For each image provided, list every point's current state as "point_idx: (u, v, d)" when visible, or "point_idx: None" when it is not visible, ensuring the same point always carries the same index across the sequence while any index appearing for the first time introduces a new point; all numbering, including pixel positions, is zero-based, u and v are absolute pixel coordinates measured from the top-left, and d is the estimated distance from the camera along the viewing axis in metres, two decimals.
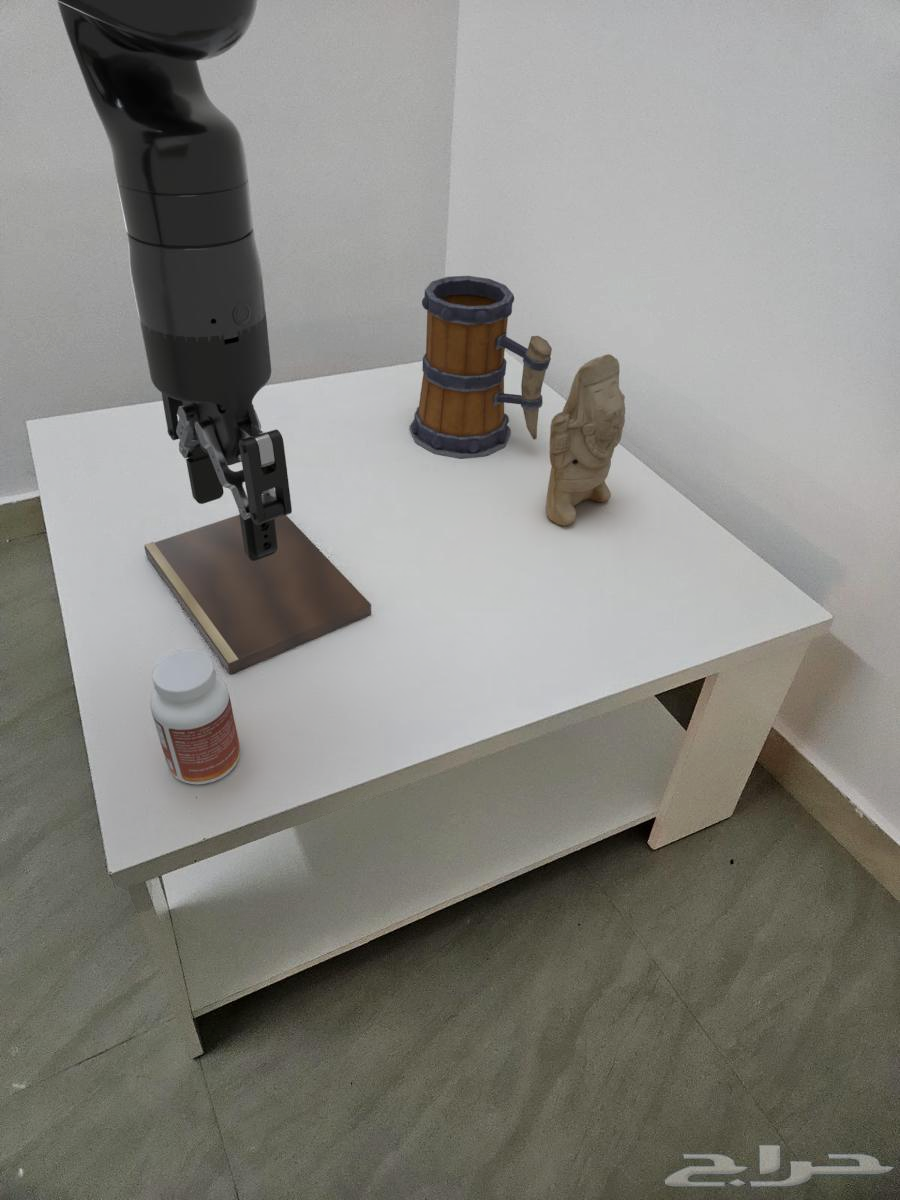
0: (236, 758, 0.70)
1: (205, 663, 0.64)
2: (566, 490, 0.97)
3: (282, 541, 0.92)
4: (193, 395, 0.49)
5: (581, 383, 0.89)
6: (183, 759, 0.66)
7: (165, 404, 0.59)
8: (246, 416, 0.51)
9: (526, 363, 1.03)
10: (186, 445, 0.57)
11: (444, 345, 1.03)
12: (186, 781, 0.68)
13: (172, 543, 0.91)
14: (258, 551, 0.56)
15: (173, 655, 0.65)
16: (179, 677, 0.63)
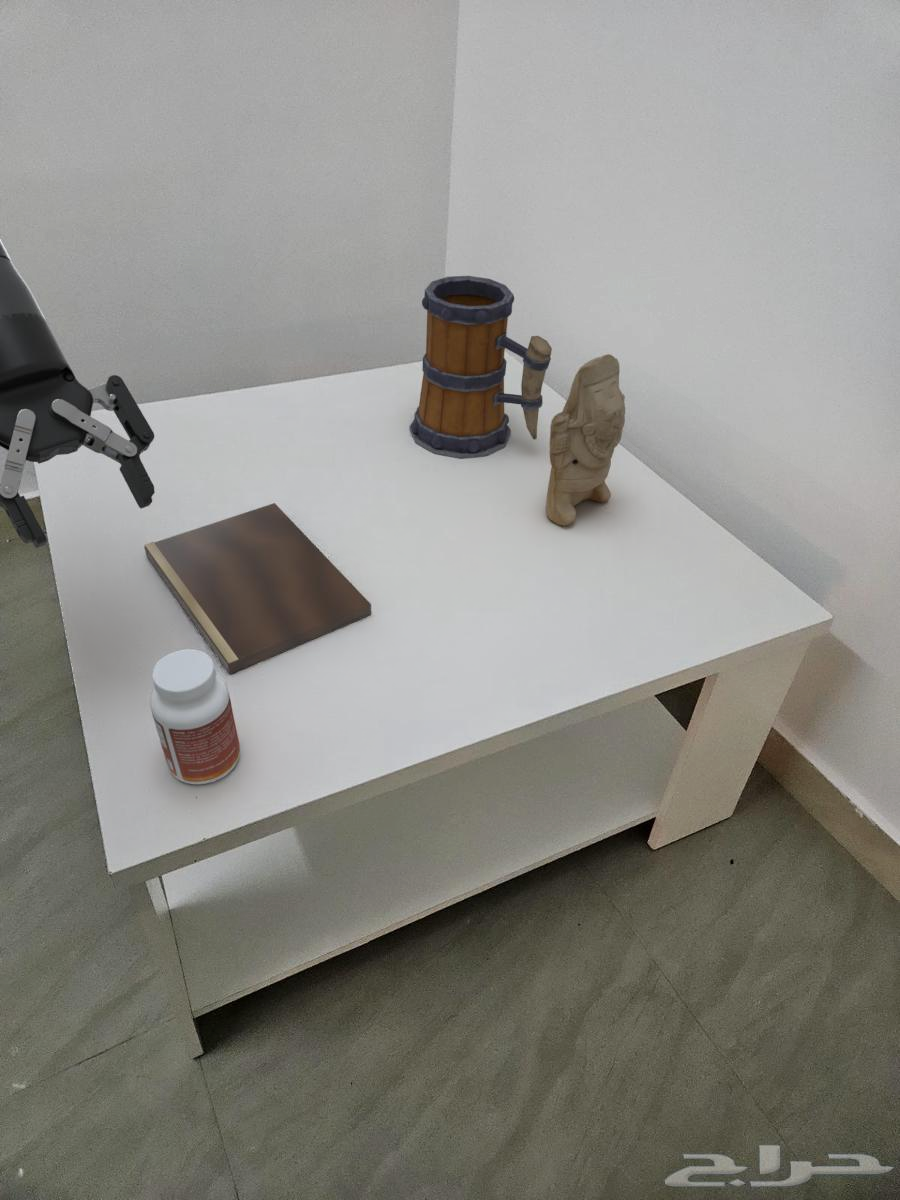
0: (236, 758, 0.70)
1: (205, 663, 0.64)
2: (566, 490, 0.97)
3: (282, 541, 0.92)
4: (60, 359, 0.63)
5: (581, 383, 0.89)
6: (183, 759, 0.66)
7: None
8: None
9: (526, 363, 1.03)
10: (24, 465, 0.61)
11: (444, 345, 1.03)
12: (186, 781, 0.68)
13: (172, 543, 0.91)
14: (152, 485, 0.67)
15: (173, 655, 0.65)
16: (179, 677, 0.63)
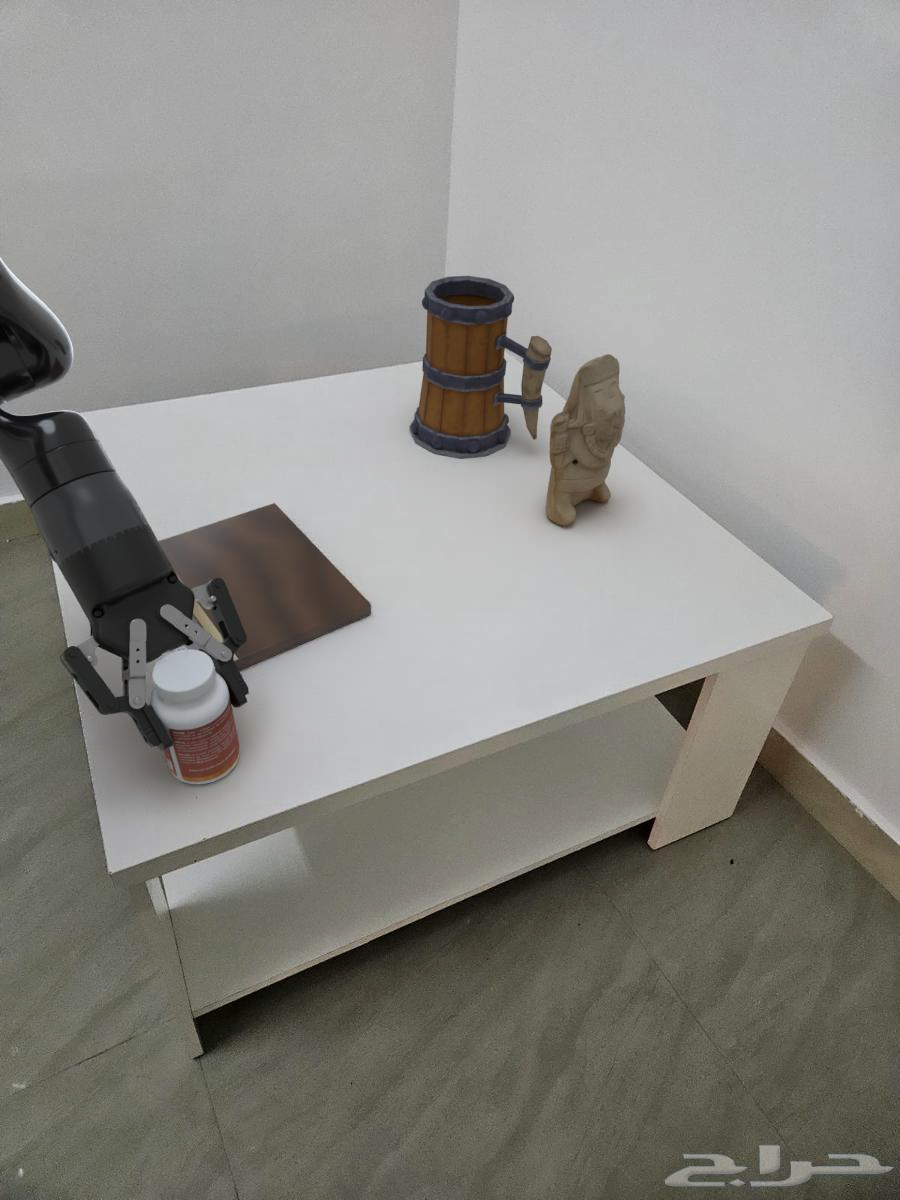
0: (236, 758, 0.70)
1: (205, 663, 0.64)
2: (566, 490, 0.97)
3: (282, 541, 0.92)
4: (166, 566, 0.65)
5: (581, 383, 0.89)
6: (183, 759, 0.66)
7: (92, 682, 0.61)
8: None
9: (526, 363, 1.03)
10: (145, 673, 0.63)
11: (444, 345, 1.03)
12: (186, 781, 0.68)
13: (172, 543, 0.91)
14: (246, 686, 0.68)
15: (173, 655, 0.65)
16: (179, 677, 0.63)
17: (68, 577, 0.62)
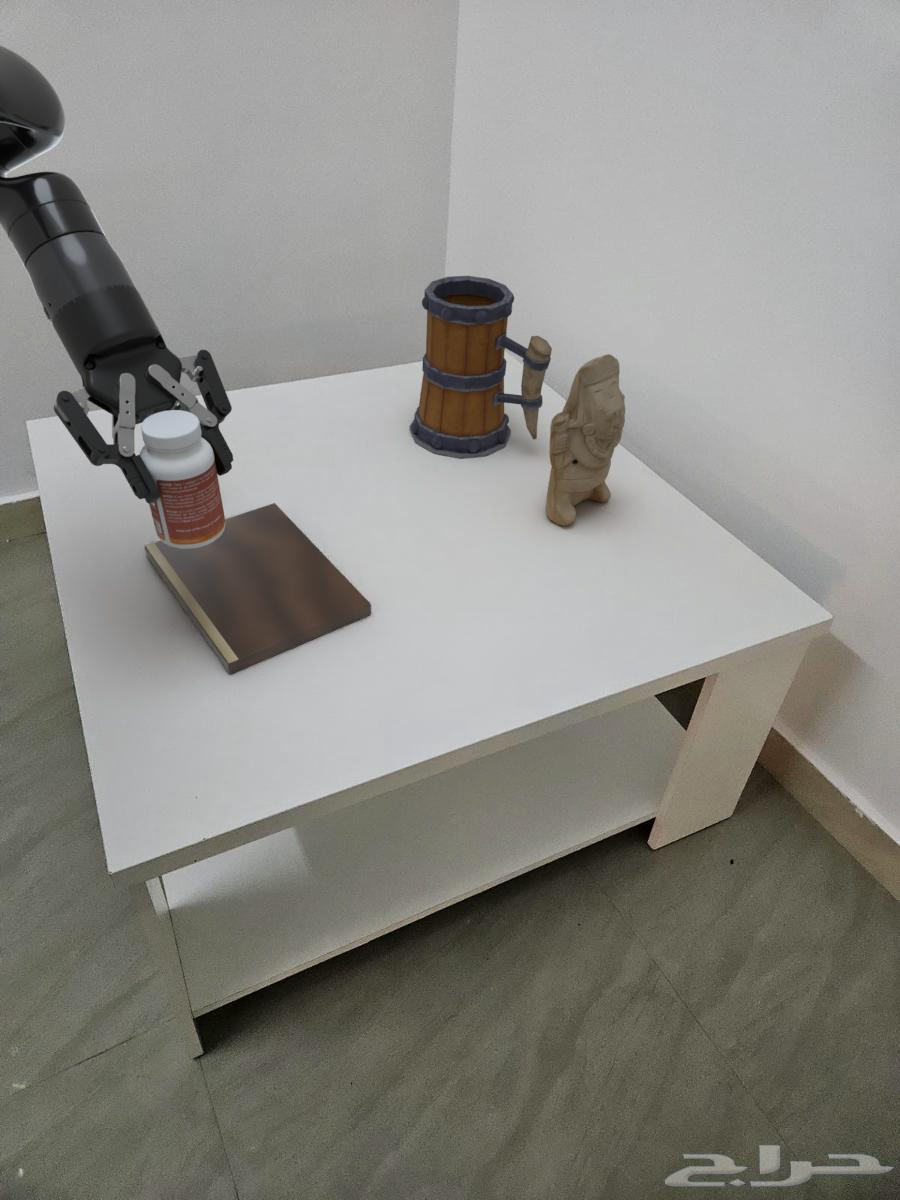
0: (221, 528, 0.74)
1: (191, 419, 0.68)
2: (566, 490, 0.97)
3: (282, 541, 0.92)
4: (155, 328, 0.68)
5: (581, 383, 0.89)
6: (171, 517, 0.70)
7: (83, 426, 0.65)
8: None
9: (526, 363, 1.03)
10: (134, 424, 0.67)
11: (444, 345, 1.03)
12: (174, 544, 0.72)
13: None
14: (231, 453, 0.72)
15: (161, 414, 0.68)
16: (166, 428, 0.67)
17: (61, 330, 0.66)
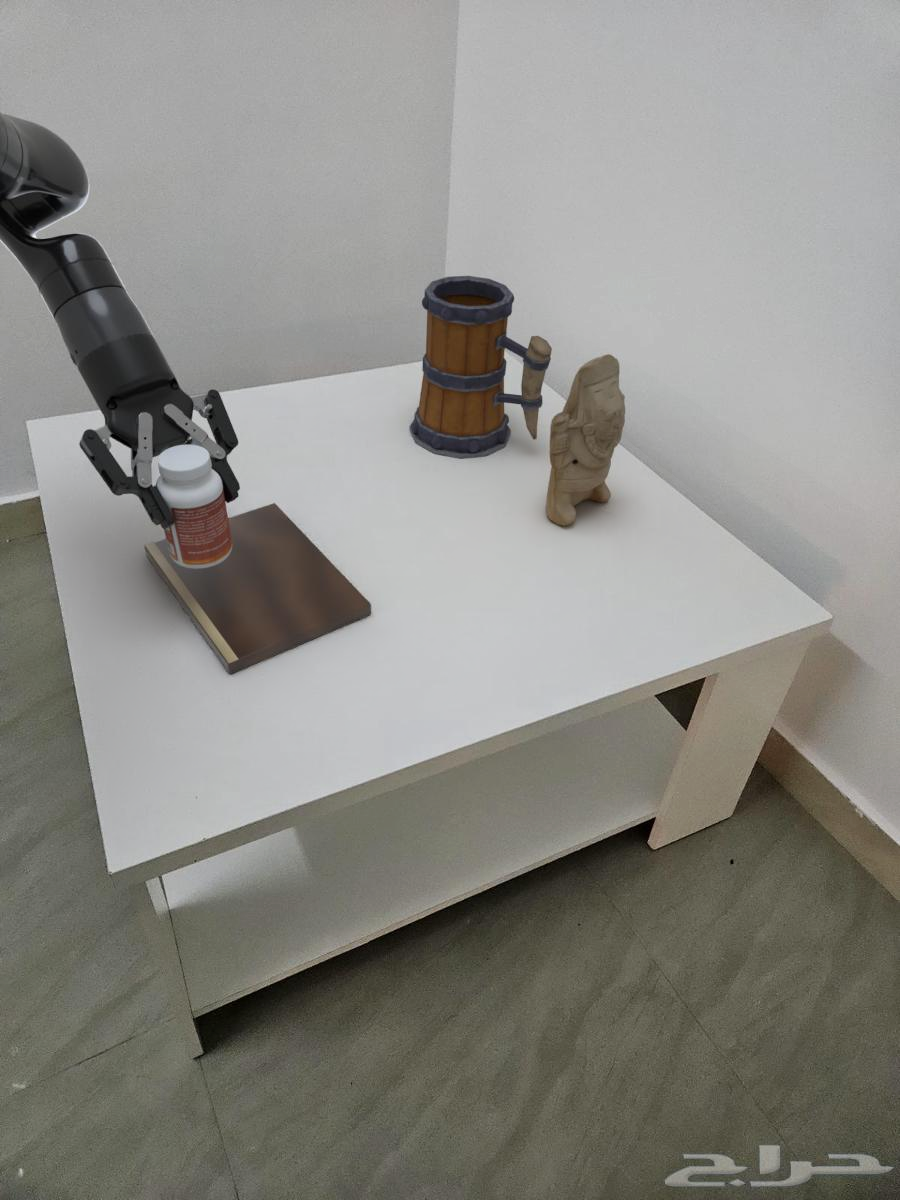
0: (229, 549, 0.81)
1: (202, 453, 0.76)
2: (566, 490, 0.97)
3: (282, 541, 0.92)
4: (169, 371, 0.76)
5: (581, 383, 0.89)
6: (183, 541, 0.78)
7: (106, 460, 0.73)
8: None
9: (526, 363, 1.03)
10: (151, 458, 0.75)
11: (444, 345, 1.03)
12: (186, 565, 0.80)
13: None
14: (238, 482, 0.79)
15: (175, 448, 0.76)
16: (180, 461, 0.74)
17: (86, 374, 0.74)
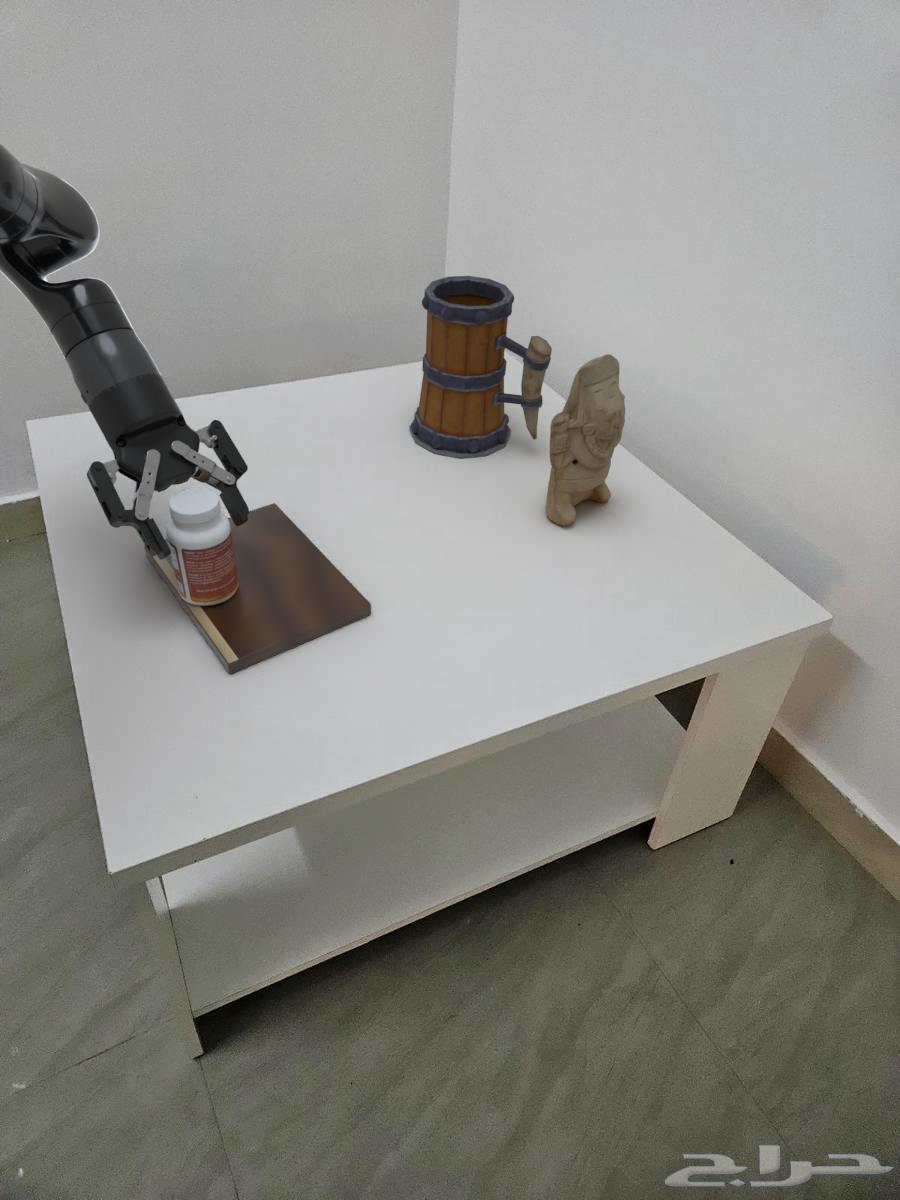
0: (235, 587, 0.84)
1: (212, 497, 0.79)
2: (566, 490, 0.97)
3: (282, 541, 0.92)
4: (176, 409, 0.79)
5: (581, 383, 0.89)
6: (192, 580, 0.81)
7: (108, 492, 0.75)
8: None
9: (526, 363, 1.03)
10: (152, 493, 0.77)
11: (444, 345, 1.03)
12: (194, 602, 0.83)
13: None
14: (247, 507, 0.83)
15: (186, 491, 0.79)
16: (191, 505, 0.78)
17: (97, 413, 0.76)
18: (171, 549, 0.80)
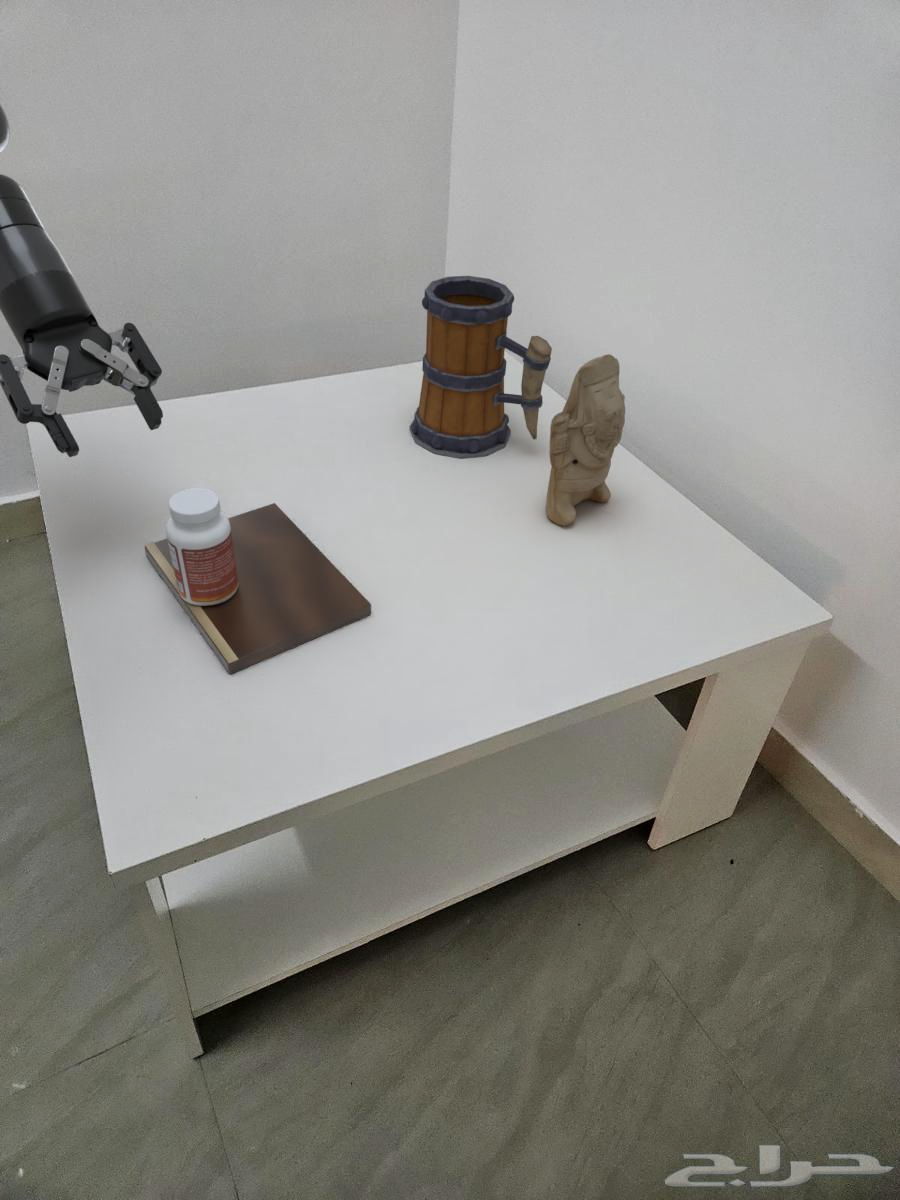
0: (235, 587, 0.84)
1: (212, 497, 0.79)
2: (566, 490, 0.97)
3: (282, 541, 0.92)
4: (86, 307, 0.79)
5: (581, 383, 0.89)
6: (192, 580, 0.81)
7: (14, 386, 0.75)
8: None
9: (526, 363, 1.03)
10: (60, 389, 0.77)
11: (444, 345, 1.03)
12: (194, 602, 0.83)
13: None
14: (161, 410, 0.83)
15: (186, 491, 0.79)
16: (191, 505, 0.78)
17: (4, 309, 0.77)
18: (171, 549, 0.80)
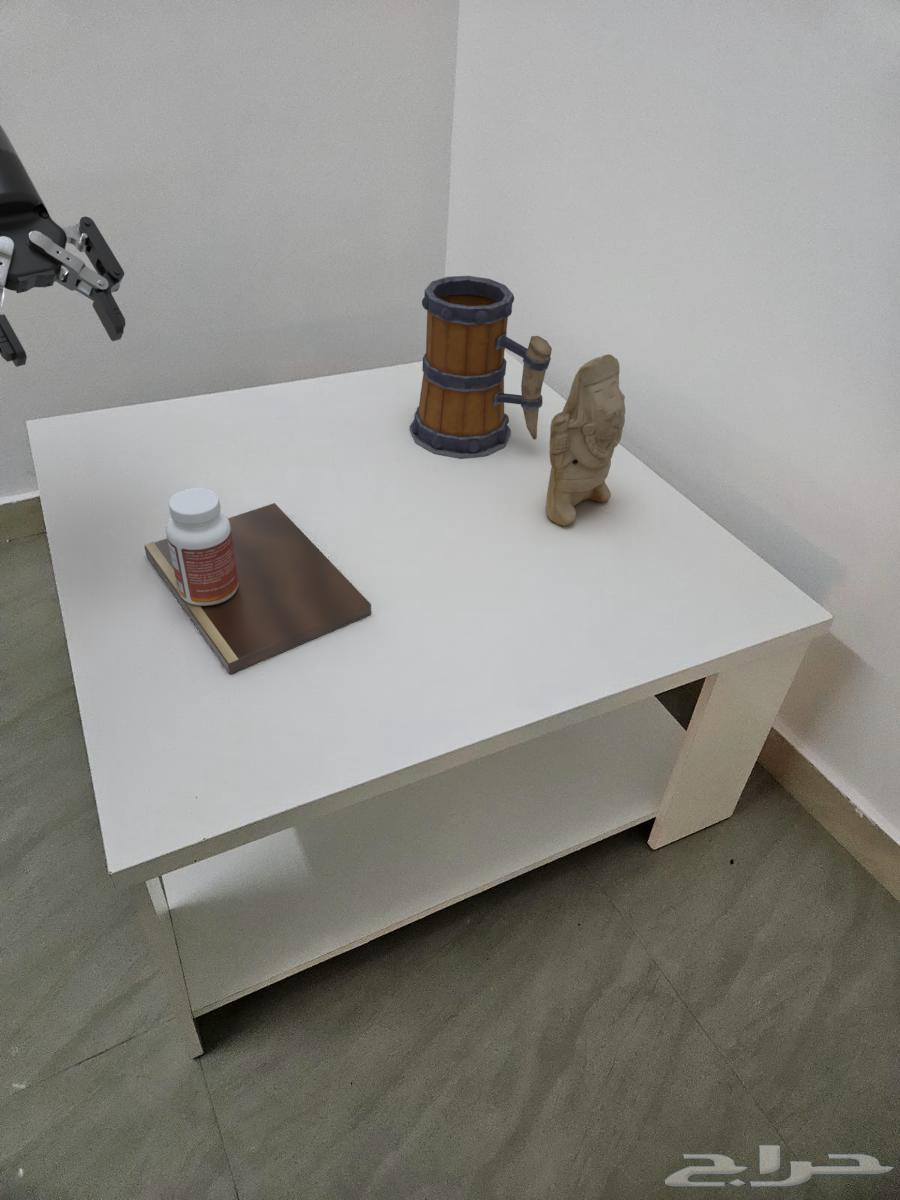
0: (235, 587, 0.84)
1: (212, 497, 0.79)
2: (566, 490, 0.97)
3: (282, 541, 0.92)
4: (35, 194, 0.69)
5: (581, 383, 0.89)
6: (192, 580, 0.81)
7: None
8: None
9: (526, 363, 1.03)
10: (4, 286, 0.67)
11: (444, 345, 1.03)
12: (194, 602, 0.83)
13: None
14: (123, 318, 0.72)
15: (186, 491, 0.79)
16: (191, 505, 0.78)
17: None
18: (171, 549, 0.80)
